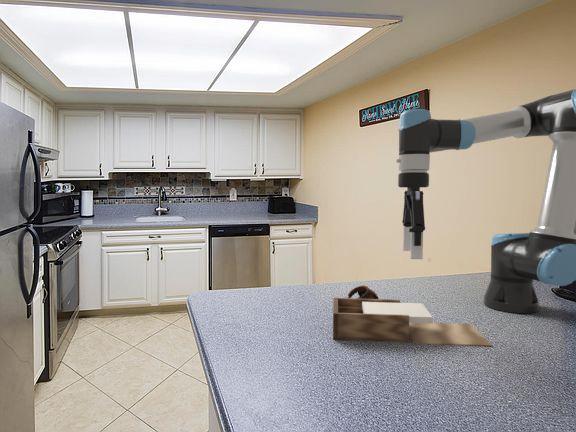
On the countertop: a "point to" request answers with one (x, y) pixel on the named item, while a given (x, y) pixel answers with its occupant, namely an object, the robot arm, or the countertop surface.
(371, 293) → the pottery mug
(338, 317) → the walnut box
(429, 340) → the cork mat
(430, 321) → the cover plate
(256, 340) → the countertop surface
